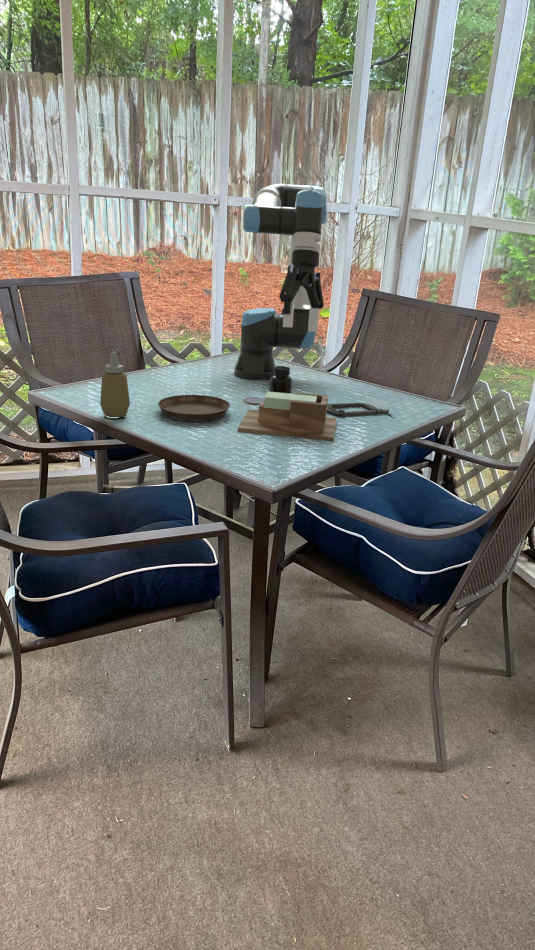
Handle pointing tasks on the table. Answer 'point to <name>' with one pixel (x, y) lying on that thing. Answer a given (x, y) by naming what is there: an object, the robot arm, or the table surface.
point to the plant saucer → (194, 407)
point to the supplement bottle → (281, 380)
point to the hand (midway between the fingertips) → (300, 329)
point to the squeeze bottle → (114, 389)
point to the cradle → (292, 420)
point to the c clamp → (342, 413)
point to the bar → (285, 400)
